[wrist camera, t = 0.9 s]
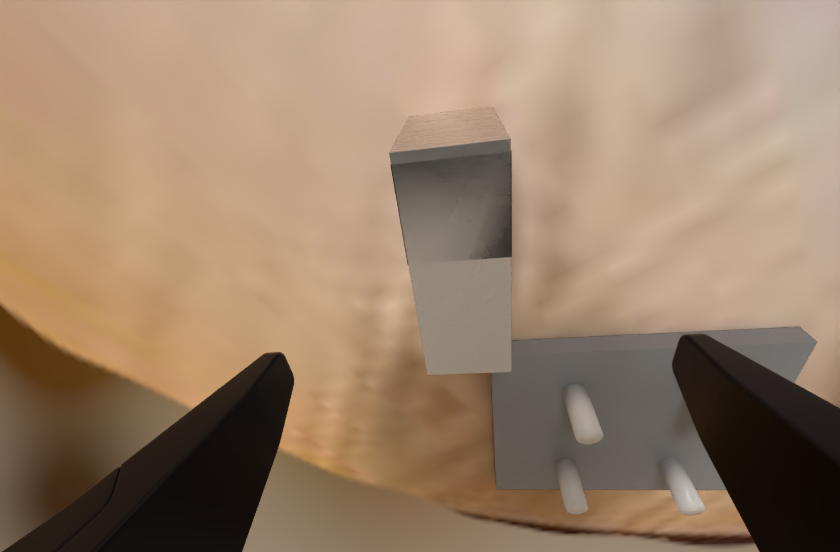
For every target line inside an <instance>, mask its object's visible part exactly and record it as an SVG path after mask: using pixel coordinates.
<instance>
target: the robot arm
mask: <svg viewBox="0 0 840 552" xmlns="http://www.w3.org/2000/svg"><path fill="white" fill-rule="evenodd" d="M672 370H673V373H674V376H675V378H676V381H677V383H678V386H679V388H680V391H681V393H682V396H683V398H684V401H685V403H686V406H687V408H688V411H689V413H690V416H691V418H692V421H693V424H694V426H695V429H696V431H697V433H698V435H699V438H700V440H701V442H702V444H703V446H704V448H705V450H706V452H707V454H708V456H709V458H710V459H711V461H712V463H713V465H714V467H715V469H716V471H717V473H718V474H719V476H720V478H721V480H722V482H723V484H724V486H725V488H726V490H727V491H728V493H729V495H730V497H731V499H732V501H733V503H734V505H735V506H736V508H737V510H738V512H739V514H740V516H741V518H742V520H743V521H744V523H745V525H746V527H747V529H748V531H749V533H750V535H751V537H752V538H753V540H754V542H755V544H756V546H757V548H758V550H759V551H760V552H840V408H838V407H836V406H835V405H833V404H831V403H829V402H827V401H826V400H824V399H822V398H820V397H818V396H817V395H815V394H813V393H811V392H809V391H808V390H806V389H804V388H802V387H800V386H799V385H797V384H795V383H793V382H791V381H790V380H788V379H786V378H784V377H782V376H781V375H779V374H777V373H775V372H773V371H772V370H770V369H768V368H766V367H764V366H763V365H761V364H759V363H757V362H755V361H754V360H752V359H750V358H748V357H746V356H745V355H743V354H741V353H739V352H737V351H735V350H734V349H732V348H730V347H728V346H726V345H725V344H723V343H721V342H719V341H717V340H716V339H714V338H712V337H710V336H708V335H706V334H702V333H696V334H684V335H682V336H681V337H680V338H679V341H678V344H677V347H676V351H675V354H674V357H673V360H672ZM293 386H294V376H293V373H292V371H291V369H290V366H289V364H288V362H287V360H286V357H285V355H284V354H283V353H280V352H272V353H265V354H263V355H262V356H261V357H259V358H258V359H257V360H255V361H254V362H253V363H252V364H250V365H249V366H248V367H246V368H245V369H244V370H243V371H241V372H240V373H239V374H237V375H236V376H235V377H234V378H232V379H231V380H230V381H228V382H227V383H226V384H225V385H223V386H222V387H221V388H219V389H218V390H217V391H215V392H214V393H213V394H212V395H210V396H209V397H208V398H206V399H205V400H204V401H203V402H201V403H200V404H199V405H197V406H196V407H195V408H194V409H192V410H191V411H190V412H188V413H187V414H186V415H185V416H183V417H182V418H181V419H179V420H178V421H177V422H176V423H174V424H173V425H172V426H170V427H169V428H168V429H167V430H165V431H164V432H163V433H161V434H160V435H159V436H158V437H156V438H155V439H154V440H152V441H151V442H150V443H148V445H146V446H145V447H143V448H142V449H141V450H139V451H138V452H137V453H136V454H134V455H133V456H132V457H130V458H129V459H128V460H126V461H125V462H124V463H123V464H122V465H121V467H117V468H116V469H115V470H114V471H112V472H111V473H110V474H108V475H107V476H106V477H104V478H103V479H102V480H101V481H99V482H98V483H97V484H95V485H94V486H93V487H92V488H90V489H89V490H87V491H86V492H85V493H83V494H82V495H81V496H79V497H78V498H77V499H75V500H74V501H73V502H72V503H70V504H69V505H67V506H66V507H65V508H64V509H62V510H60V511H59V512H58V513H56V514H55V515H54V516H52V517H51V518H49V519H48V520H47V521H45V522H44V523H42V524H41V525H39V526H38V527H37V528H35V529H34V530H32V531H31V532H30V533H28V534H27V535H25V536H24V537H22V538H21V539H20V540H18V541H17V542H15V543H14V544H13V545H11V546H10V547H8V548H7V549H5V550H4V551H2V552H242V550H243V547H244V545H245V542H246V539H247V536H248V533H249V530H250V528H251V525H252V522H253V519H254V516H255V513H256V510H257V507H258V505H259V502H260V499H261V496H262V493H263V490H264V487H265V484H266V482H267V479H268V476H269V473H270V470H271V467H272V465H273V462H274V459H275V456H276V453H277V450H278V447H279V444H280V440H281V436H282V432H283V428H284V424H285V420H286V416H287V411H288V407H289V403H290V399H291V394H292V390H293Z"/></svg>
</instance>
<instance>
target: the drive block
mask: <svg viewBox="0 0 840 552" xmlns="http://www.w3.org/2000/svg"><path fill="white" fill-rule="evenodd" d="M389 154H390V160H391V170H392V176H393V182H394V188H395V194H396V199H397V205H398V211H399V217H400V223H401V228H402V234H403V240H404V246H405V251H406V257H407V263H408V265H409V271H410V277H411V282H412V288H413V294H414V300H415V306H416V312H417V317H418V323H419V329H420V335H421V341H422V347H423V352H424V358H425V364H426V370H427V375H438V374H467V373H496V372H511V257H512V175H511V139H510V137H509V135H508V133H507V131H506V129H505V127H504V126H503V124H502V122H501V120H500V118H499V116H498V114H497V112H496V110H495V108H494V107H493V106H488V107H480V108H473V109H465V110H457V111H449V112H441V113H434V114H426V115H418V116H410V117H408V119H407V121H406V123H405V125H404V127H403V128H402V130H401V132H400V134H399V136H398V138H397V140H396V141H395V143H394V145H393V147H392V149H391V151H390V153H389Z"/></svg>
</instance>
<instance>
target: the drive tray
mask: <svg viewBox="0 0 840 552" xmlns="http://www.w3.org/2000/svg"><path fill="white" fill-rule="evenodd" d="M696 333H702V334H706V335H708V336H710V337H712V338H714V339H716V340H717V341H719V342H721V343H723V344H725V345H726V346H728V347H730V348H732V349H734V350H735V351H737V352H739V353H741V354H743V355H745V356H746V357H748V358H750V359H752V360H754V361H755V362H757V363H759V364H761V365H763V366H764V367H766V368H768V369H770V370H772V371H773V372H775V373H777V374H779V375H781V376H782V377H784V378H786V379H788V380H790V381H791V382H793V383H794V382H795V380H796V378H797V377H798V375H799V373H800V371H801V370H802V368H803V366H804V364H805V363H806V361H807V359H808V357H809V356H810V354H811V352H812V351H813V349H814V347H815V345H816V344H817V341H816V340H815V339H814V338H812V337H811V336H810V335H809V334H808V333H806V332H805V331H804V330H803V329H802V328H801V327H785V328H764V329H743V330H722V331H701V332H680V333H659V334H638V335H617V336H596V337H575V338H554V339H533V340H512V341H511V372H496V373H491V391H492V413H493V436H494V458H495V477H496V487H497V489H511V490H561V493H562V498H563V502H564V506H565V510H566V511H567V512H568V513H570V514H582V513H585V512H586V511H587V510H588V505H587V501H586V498H585V494H584V491H583V490H670V492H671V494H672V496H673V498H674V500H675V502H676V504H677V506H678V509H679V511H680V513H682V514H683V515H697V514H700V513H702V512H704V511H705V506H704V504H703V502H702V501H701V499H700V497H699V495H698V493H697V491H696V490H726V488H725V486H724V484H723V482H722V480H721V478H720V476H719V474H718V473H717V471H716V469H715V467H714V465H713V463H712V461H711V459H710V458H709V456H708V454H707V452H706V450H705V448H704V446H703V444H702V442H701V440H700V438H699V435H698V433H697V431H696V429H695V426H694V424H693V421H692V418H691V416H690V413H689V411H688V408H687V406H686V403H685V401H684V398H683V396H682V393H681V391H680V388H679V386H678V383H677V381H676V378H675V376H674V373H673V370H672V360H673V357H674V354H675V351H676V347H677V344H678V341H679V338H680V337H681V336H682V335H684V334H696Z"/></svg>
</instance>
